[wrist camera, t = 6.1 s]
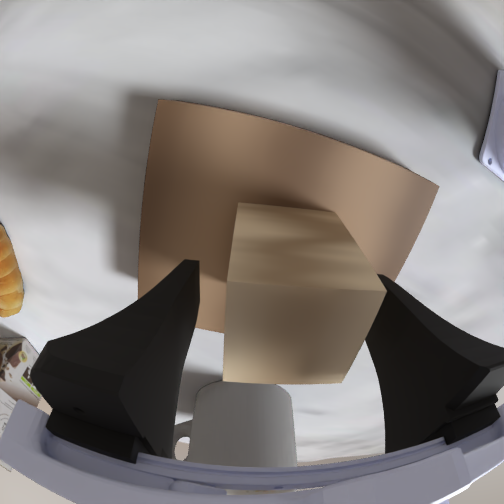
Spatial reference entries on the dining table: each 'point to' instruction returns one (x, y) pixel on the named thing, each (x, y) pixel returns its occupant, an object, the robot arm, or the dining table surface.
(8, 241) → the pastry
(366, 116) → the dining table surface
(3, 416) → the coffee box
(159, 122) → the walnut base
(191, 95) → the dining table surface
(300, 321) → the beech block
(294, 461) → the coffee mug
